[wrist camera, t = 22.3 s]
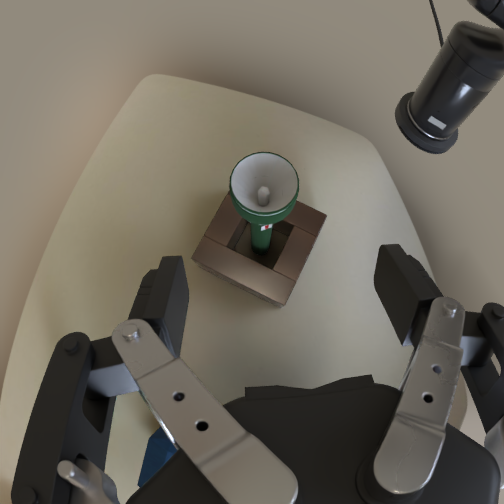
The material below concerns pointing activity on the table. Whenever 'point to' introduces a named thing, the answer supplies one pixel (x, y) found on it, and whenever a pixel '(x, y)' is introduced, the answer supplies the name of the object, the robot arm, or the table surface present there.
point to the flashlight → (263, 194)
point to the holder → (249, 271)
